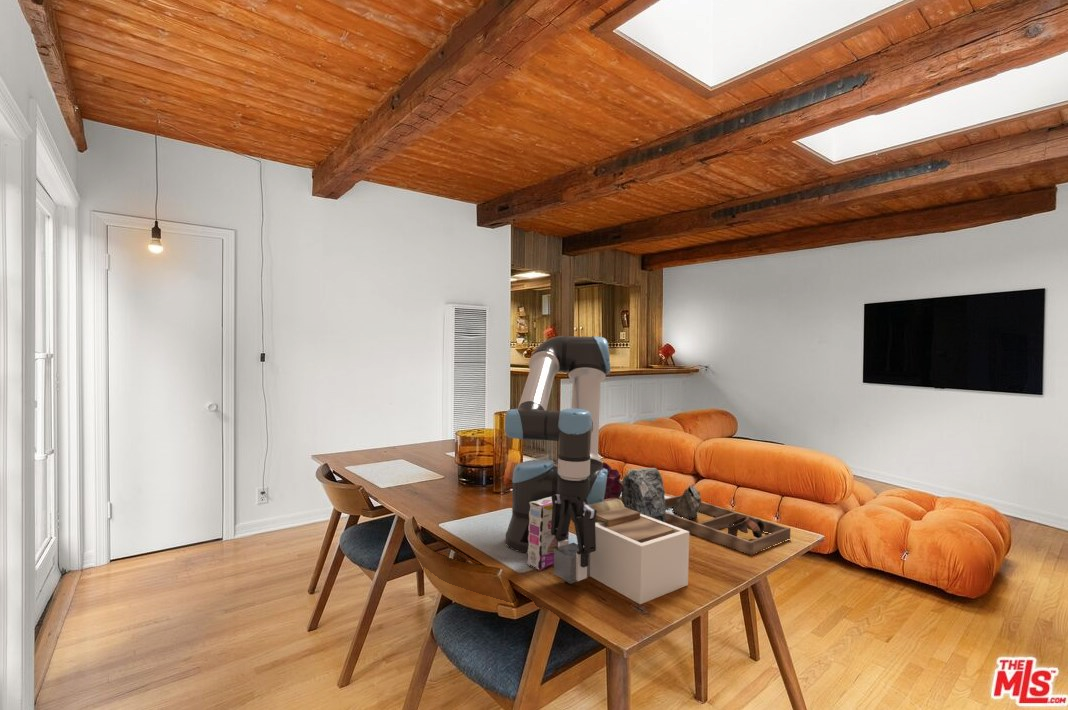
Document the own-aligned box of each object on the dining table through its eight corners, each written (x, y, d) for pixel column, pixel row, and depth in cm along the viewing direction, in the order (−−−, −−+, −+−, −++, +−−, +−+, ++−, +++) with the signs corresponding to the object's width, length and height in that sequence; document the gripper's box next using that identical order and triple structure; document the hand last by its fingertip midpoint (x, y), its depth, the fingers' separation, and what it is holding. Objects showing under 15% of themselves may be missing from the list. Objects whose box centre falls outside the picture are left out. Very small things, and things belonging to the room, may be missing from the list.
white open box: (589, 575, 124) (590, 524, 123) (635, 560, 133) (637, 512, 133) (640, 604, 110) (641, 546, 110) (688, 584, 120) (689, 531, 120)
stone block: (638, 546, 143) (640, 476, 143) (614, 536, 150) (615, 470, 150) (674, 531, 155) (676, 467, 155) (650, 523, 162) (652, 462, 162)
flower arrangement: (538, 495, 190) (539, 455, 190) (570, 485, 205) (571, 449, 205) (608, 514, 169) (609, 470, 169) (638, 502, 184) (639, 461, 184)
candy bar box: (540, 572, 125) (542, 506, 125) (526, 565, 129) (527, 501, 128) (569, 559, 133) (570, 497, 133) (555, 553, 137) (556, 493, 136)
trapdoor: (577, 523, 130) (578, 503, 130) (613, 514, 138) (614, 496, 137) (636, 549, 114) (637, 527, 113) (673, 537, 121) (674, 517, 121)
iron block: (553, 573, 119) (554, 548, 118) (573, 566, 122) (573, 542, 122) (570, 583, 114) (570, 557, 114) (589, 576, 117) (590, 551, 117)
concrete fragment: (680, 507, 180) (681, 476, 180) (709, 526, 161) (711, 491, 161) (664, 507, 179) (665, 476, 179) (692, 526, 160) (693, 492, 160)
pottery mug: (755, 553, 141) (740, 525, 143) (731, 556, 149) (716, 530, 151) (779, 535, 147) (764, 508, 149) (754, 538, 155) (740, 513, 157)
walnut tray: (640, 514, 170) (641, 504, 170) (680, 504, 183) (680, 495, 183) (751, 555, 138) (751, 543, 138) (790, 540, 150) (790, 528, 150)
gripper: (614, 483, 111) (612, 585, 112) (560, 464, 127) (559, 554, 128) (589, 489, 107) (587, 595, 108) (536, 468, 122) (535, 561, 123)
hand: (571, 572), depth 118 cm, fingers closed on iron block, 6 cm apart
